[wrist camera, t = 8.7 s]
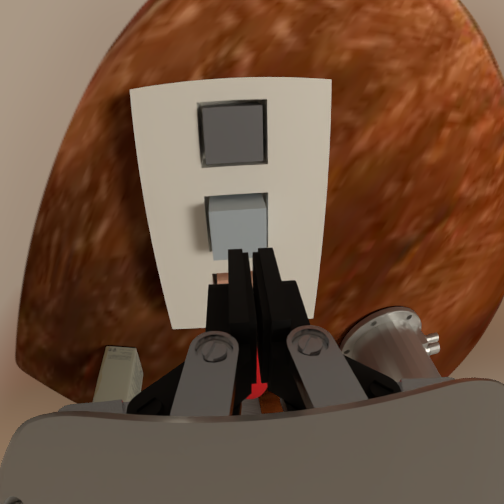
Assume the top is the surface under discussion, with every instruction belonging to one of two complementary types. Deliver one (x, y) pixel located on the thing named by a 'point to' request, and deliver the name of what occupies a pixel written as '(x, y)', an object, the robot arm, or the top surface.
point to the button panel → (232, 181)
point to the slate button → (237, 224)
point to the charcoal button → (233, 132)
